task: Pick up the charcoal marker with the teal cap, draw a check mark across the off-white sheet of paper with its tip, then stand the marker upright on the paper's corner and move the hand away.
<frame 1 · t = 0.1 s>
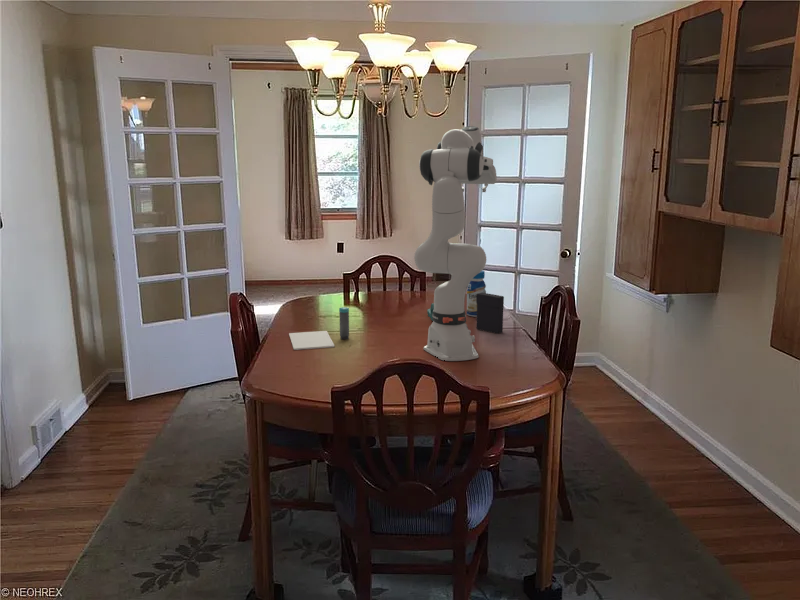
hand: (473, 191, 276), 54 cm above the table, tool tilted 30°, fingers open, 8 cm apart
paper: (311, 340, 245), on the table
beverage bottle: (475, 315, 285), on the table
marker: (344, 338, 248), on the table
bracket: (437, 318, 281), on the table
upright charcoal panel: (489, 331, 259), on the table
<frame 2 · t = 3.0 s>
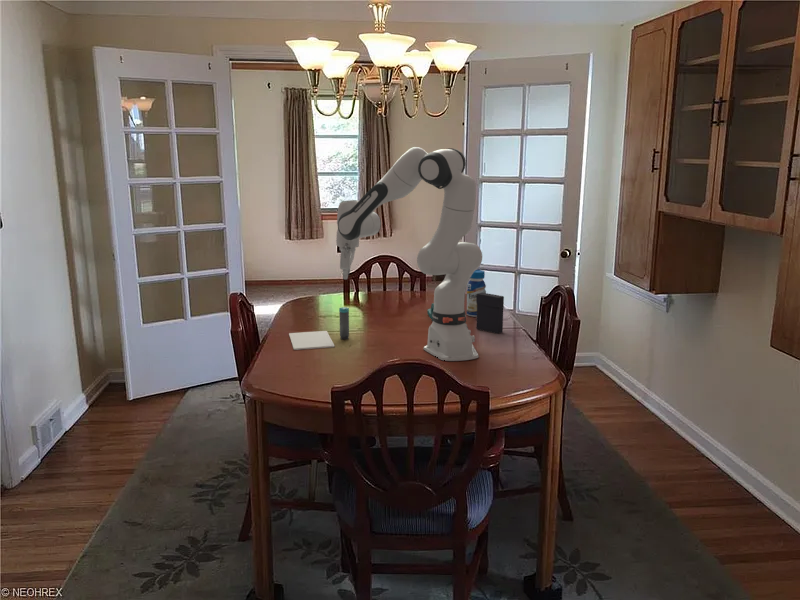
hand: (346, 276, 251), 23 cm above the table, tool pointing down, fingers open, 8 cm apart
nothing on the table moved.
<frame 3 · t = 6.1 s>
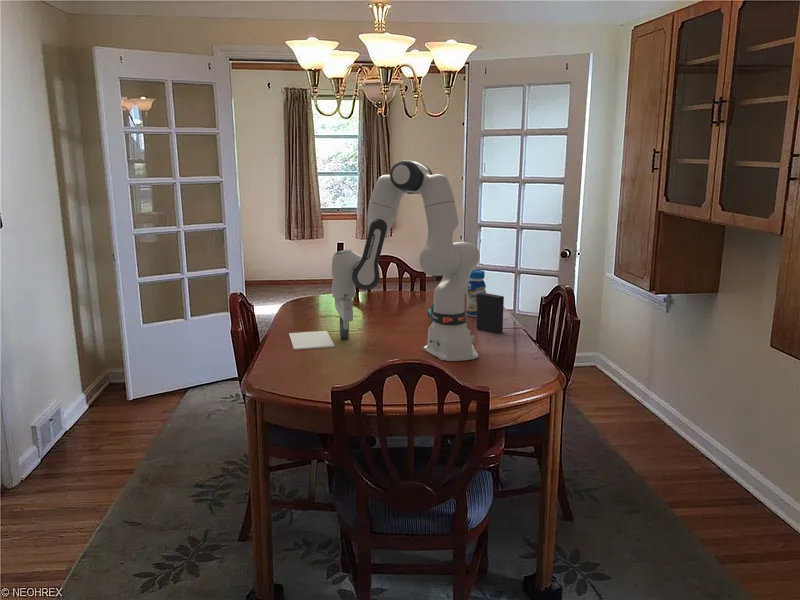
hand: (344, 327, 247), 5 cm above the table, tool pointing down, fingers closed on marker, 4 cm apart
marker: (344, 338, 248), on the table, touching gripper
everything else where it was.
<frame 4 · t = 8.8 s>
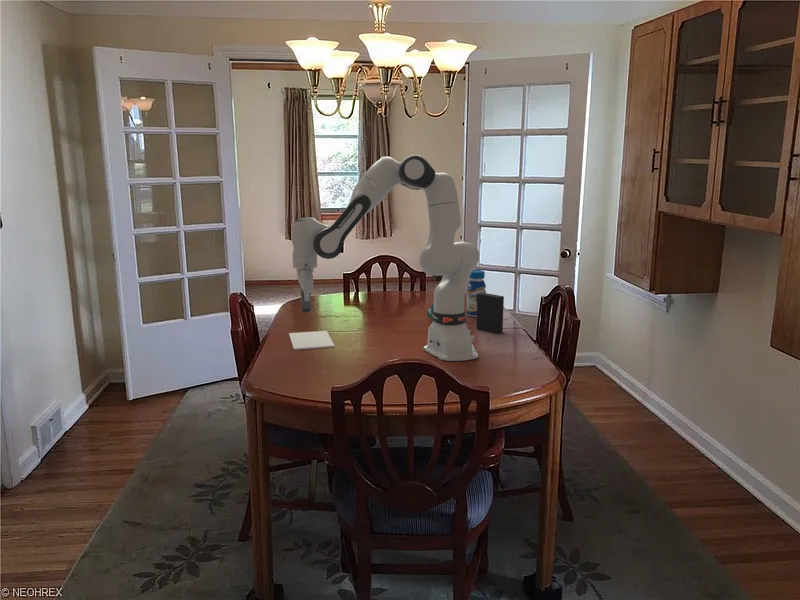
hand: (306, 299, 235), 18 cm above the table, tool pointing down, fingers closed on marker, 4 cm apart
marker: (306, 311, 236), point 13 cm above the table, touching gripper
everything else where it was.
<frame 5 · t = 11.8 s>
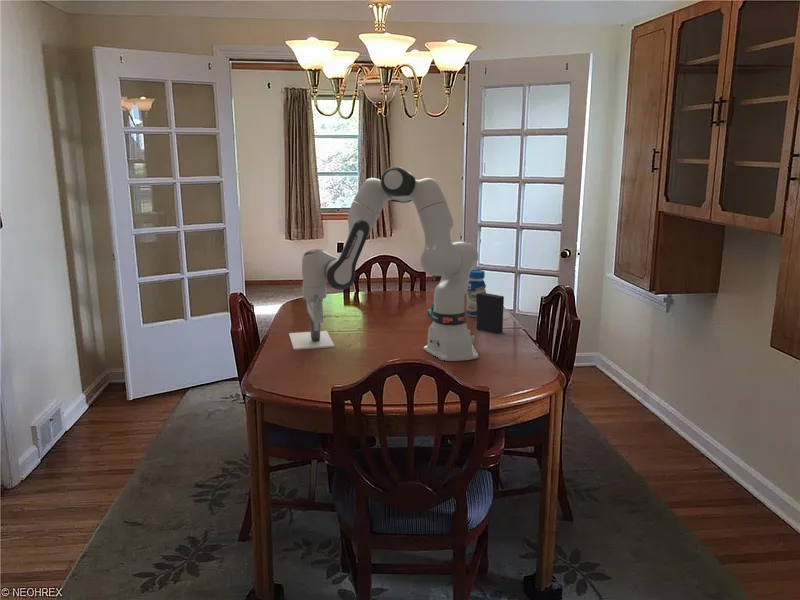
hand: (315, 328, 242), 5 cm above the table, tool pointing down, fingers closed on marker, 4 cm apart
marker: (315, 340, 243), point 1 cm above the table, touching gripper
everything else where it was.
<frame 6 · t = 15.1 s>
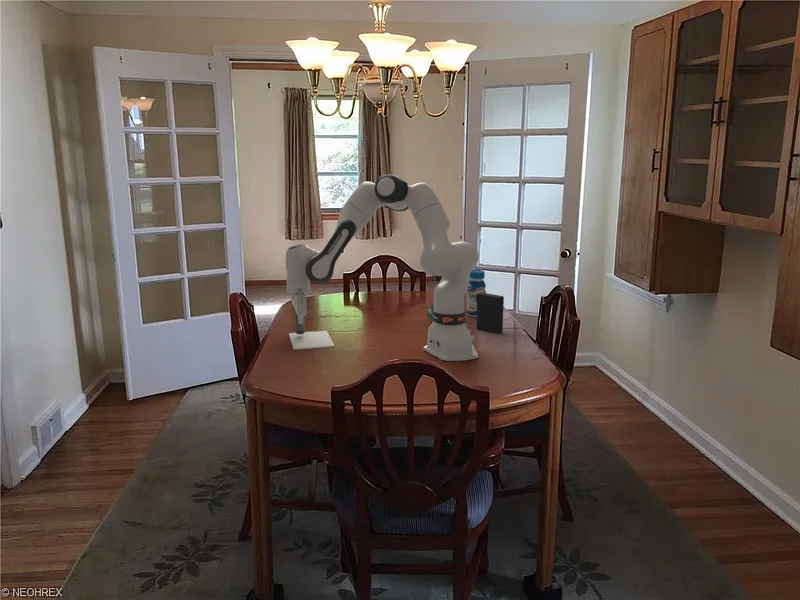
hand: (300, 322, 247), 6 cm above the table, tool pointing down, fingers closed on marker, 4 cm apart
marker: (300, 333, 248), point 2 cm above the table, touching gripper
everything else where it was.
when the fingers open (6 cm above the table, at t = 17.9 s): marker drops 1 cm, resting on paper.
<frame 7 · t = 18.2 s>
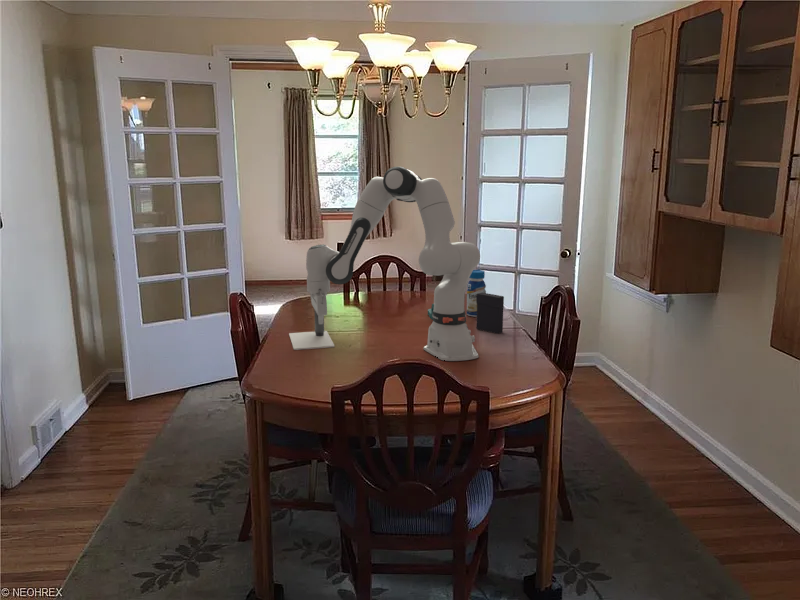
hand: (319, 321, 249), 6 cm above the table, tool pointing down, fingers open, 6 cm apart
marker: (319, 335, 250), point 1 cm above the table, touching paper
everything else where it was.
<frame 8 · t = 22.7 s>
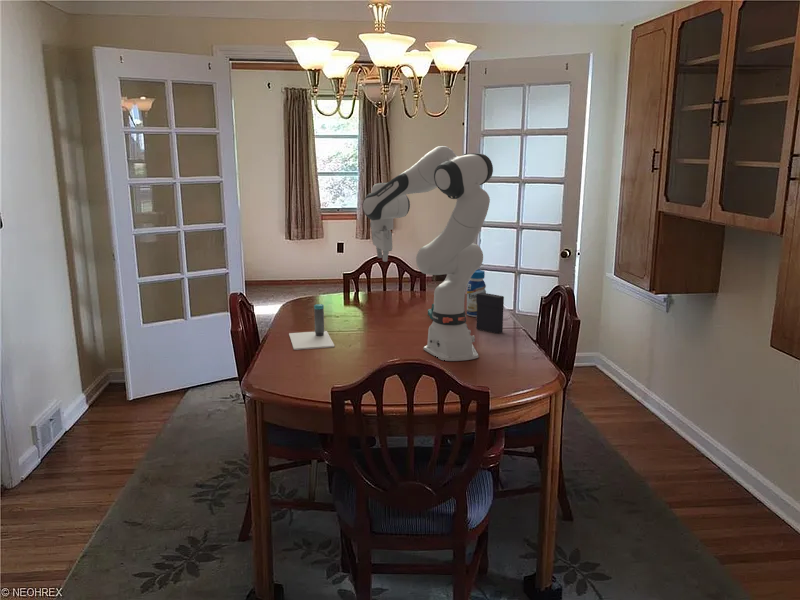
hand: (382, 259, 253), 29 cm above the table, tool pointing down, fingers open, 8 cm apart
nothing on the table moved.
at the end: marker inside the target area (6.2 cm from its centre), point 0.6 cm above the table; marker tilted 0°; the gripper is holding nothing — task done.
